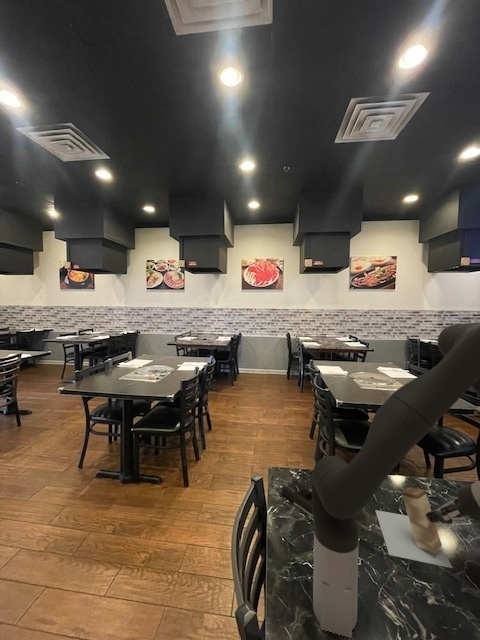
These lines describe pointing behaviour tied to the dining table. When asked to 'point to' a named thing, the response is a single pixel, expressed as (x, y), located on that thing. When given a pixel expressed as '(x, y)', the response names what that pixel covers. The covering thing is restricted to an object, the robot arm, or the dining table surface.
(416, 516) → the birch block
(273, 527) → the dining table surface
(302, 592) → the dining table surface
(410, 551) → the rubber mat
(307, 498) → the door handle
